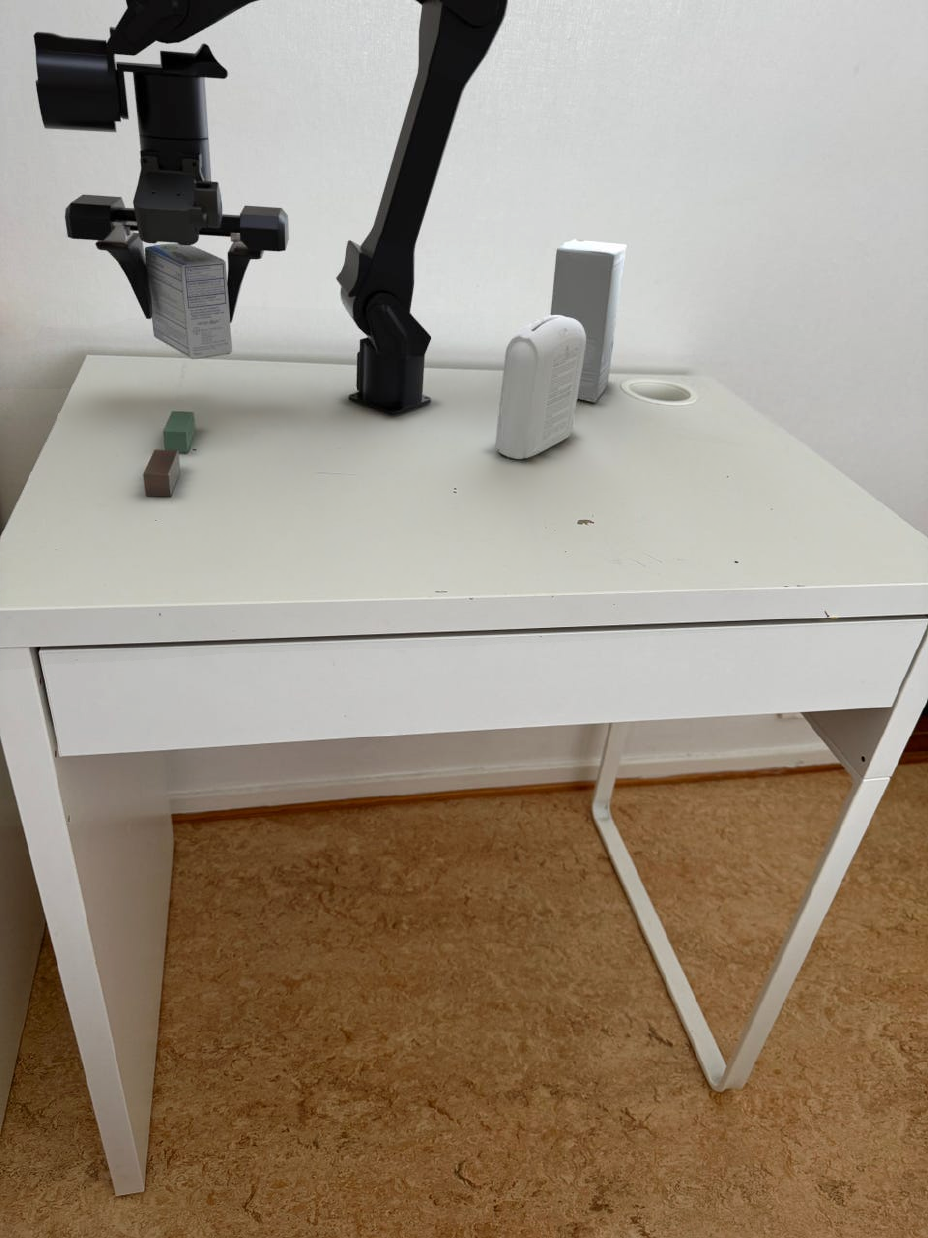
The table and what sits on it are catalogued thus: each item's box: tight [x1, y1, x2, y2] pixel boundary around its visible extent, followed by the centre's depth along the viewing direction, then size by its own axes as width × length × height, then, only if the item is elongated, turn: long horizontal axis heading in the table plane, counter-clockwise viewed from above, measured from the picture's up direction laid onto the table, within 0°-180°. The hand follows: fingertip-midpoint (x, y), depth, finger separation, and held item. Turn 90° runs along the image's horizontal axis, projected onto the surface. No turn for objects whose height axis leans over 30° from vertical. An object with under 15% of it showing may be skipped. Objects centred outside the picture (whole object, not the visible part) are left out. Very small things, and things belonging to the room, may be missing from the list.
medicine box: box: [144, 243, 233, 360], centre depth 86 cm, size 8×4×9 cm, turn 41°
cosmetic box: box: [550, 239, 628, 403], centre depth 102 cm, size 8×7×16 cm
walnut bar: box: [142, 448, 181, 498], centre depth 76 cm, size 5×2×2 cm, turn 6°
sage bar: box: [162, 410, 196, 454], centre depth 83 cm, size 5×2×2 cm, turn 6°
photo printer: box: [495, 314, 586, 460], centre depth 87 cm, size 10×4×12 cm, turn 146°
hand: (189, 319), depth 87 cm, fingers closed on medicine box, 7 cm apart
